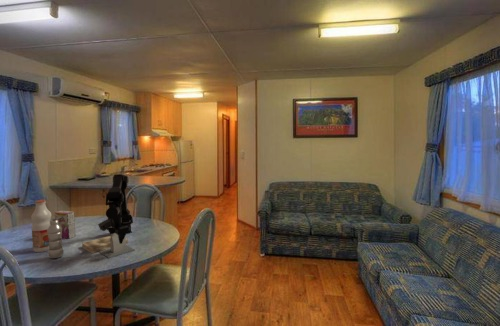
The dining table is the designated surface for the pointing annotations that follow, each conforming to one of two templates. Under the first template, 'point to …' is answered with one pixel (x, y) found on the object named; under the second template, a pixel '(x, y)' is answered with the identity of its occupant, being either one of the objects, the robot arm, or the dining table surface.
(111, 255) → the mat
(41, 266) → the dining table surface
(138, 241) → the dining table surface
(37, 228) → the fruit juice
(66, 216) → the candy bar box
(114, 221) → the robot arm
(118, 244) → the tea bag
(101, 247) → the holder
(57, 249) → the plastic bottle
